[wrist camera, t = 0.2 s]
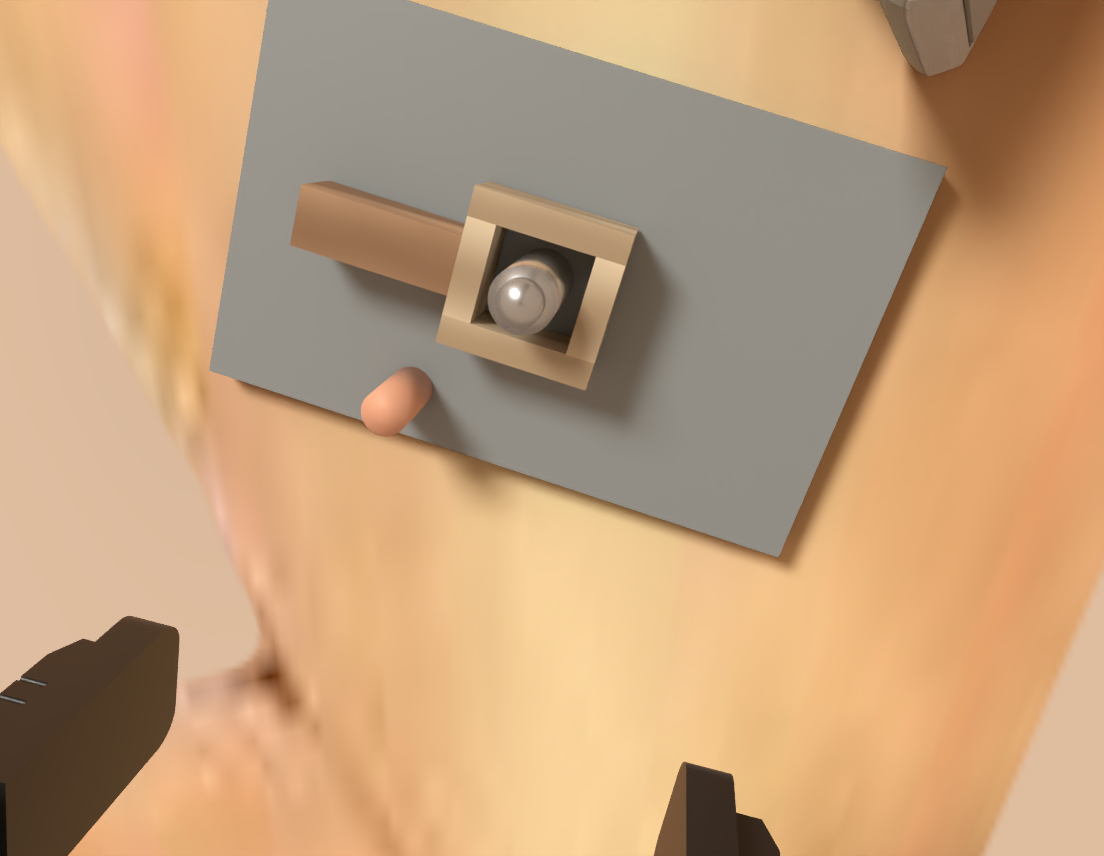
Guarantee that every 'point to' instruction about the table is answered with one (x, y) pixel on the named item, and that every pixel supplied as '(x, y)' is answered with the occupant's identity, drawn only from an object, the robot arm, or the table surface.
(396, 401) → the salmon orange capsule
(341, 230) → the square frame with handle
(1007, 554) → the table surface
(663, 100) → the jig deck
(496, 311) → the post
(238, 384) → the table surface
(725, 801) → the robot arm
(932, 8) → the digital clock
